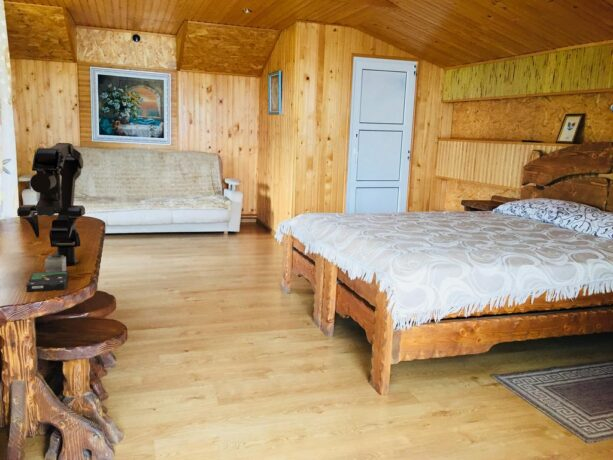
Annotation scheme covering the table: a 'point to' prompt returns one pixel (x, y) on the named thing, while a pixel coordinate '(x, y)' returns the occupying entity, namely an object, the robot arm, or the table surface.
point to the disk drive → (48, 281)
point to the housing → (55, 263)
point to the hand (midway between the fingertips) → (53, 237)
